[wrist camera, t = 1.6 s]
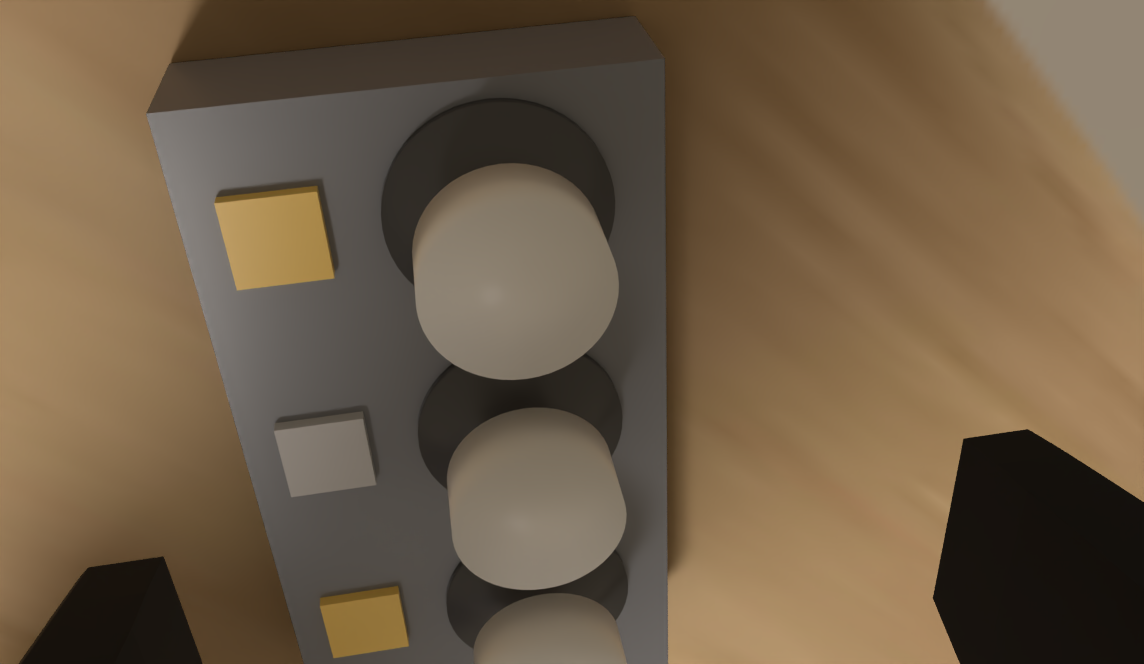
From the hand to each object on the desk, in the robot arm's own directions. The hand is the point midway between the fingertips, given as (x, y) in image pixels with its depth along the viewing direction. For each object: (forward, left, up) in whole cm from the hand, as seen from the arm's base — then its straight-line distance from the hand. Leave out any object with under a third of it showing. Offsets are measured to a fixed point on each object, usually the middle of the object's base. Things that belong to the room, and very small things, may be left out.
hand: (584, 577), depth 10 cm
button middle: (0, -4, -6) cm, 7 cm away
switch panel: (-1, -5, -9) cm, 10 cm away
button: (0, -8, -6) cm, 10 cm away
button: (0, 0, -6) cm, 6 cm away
